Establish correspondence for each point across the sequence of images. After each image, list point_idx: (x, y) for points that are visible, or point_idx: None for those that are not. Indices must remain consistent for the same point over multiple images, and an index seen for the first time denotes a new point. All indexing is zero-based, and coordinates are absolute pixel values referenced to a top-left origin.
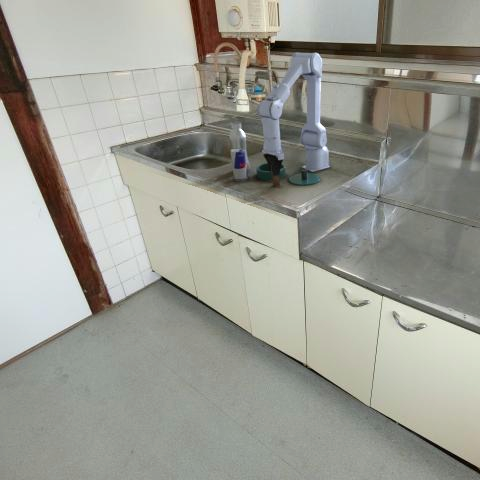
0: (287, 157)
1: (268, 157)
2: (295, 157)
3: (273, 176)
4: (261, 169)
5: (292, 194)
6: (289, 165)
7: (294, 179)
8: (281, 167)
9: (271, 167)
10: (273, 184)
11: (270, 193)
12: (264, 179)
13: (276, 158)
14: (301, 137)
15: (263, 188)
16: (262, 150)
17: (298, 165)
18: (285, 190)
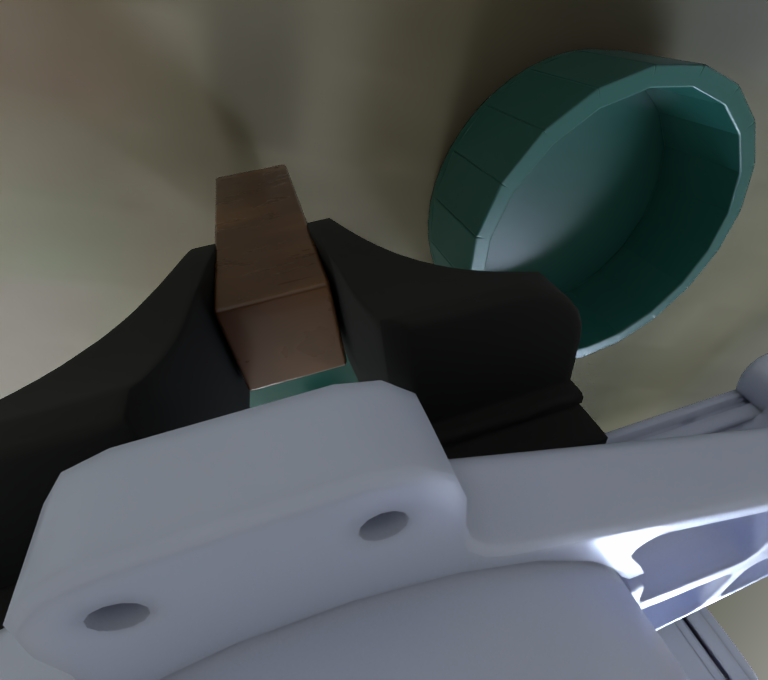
0: (754, 354)
1: (64, 448)
2: (714, 391)
3: (217, 229)
4: (695, 138)
5: (21, 313)
6: (643, 353)
7: (339, 372)
8: (582, 323)
9: (277, 281)
10: (243, 178)
11: (68, 81)
12: (487, 111)
13: (7, 591)
14: (703, 639)
15: (275, 30)
16: (369, 511)
17: (603, 397)
18: (152, 267)
